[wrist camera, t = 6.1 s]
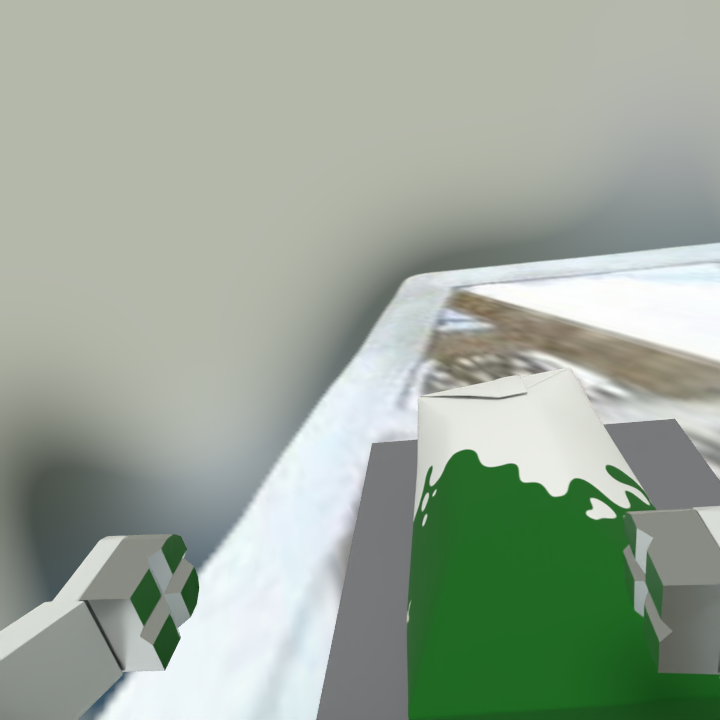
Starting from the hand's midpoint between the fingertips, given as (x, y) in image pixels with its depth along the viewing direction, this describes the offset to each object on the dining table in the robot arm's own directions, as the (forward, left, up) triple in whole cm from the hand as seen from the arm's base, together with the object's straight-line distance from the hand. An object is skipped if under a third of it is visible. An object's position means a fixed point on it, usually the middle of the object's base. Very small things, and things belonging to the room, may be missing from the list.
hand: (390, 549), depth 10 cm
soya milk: (-4, 0, -8) cm, 9 cm away
